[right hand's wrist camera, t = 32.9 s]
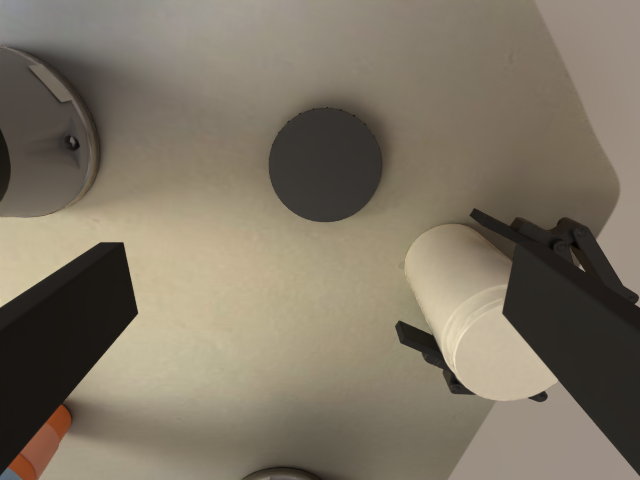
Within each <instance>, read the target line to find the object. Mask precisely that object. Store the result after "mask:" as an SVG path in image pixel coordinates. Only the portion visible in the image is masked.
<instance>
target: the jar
mask: <svg viewBox="0 0 640 480" xmlns="http://www.w3.org/2000/svg"><path fill="white" fill-rule="evenodd" d="M512 262H513V261H511V260H510V259H509V258H508V257H507V256H506V255H504V254H503V253H502V252H501V251H500V250H498V249H497V248H496V247H495V246H494V245H493V244H491V243H490V242H489V241H488V240H487V239H485V238H484V237H483V236H482V235H481V234H479V233H478V232H477V231H476V230H474V229H472V228H470V227H468V226H465V225H461V224H443V225H439V226H436V227H433V228H431V229H429V230H427V231H426V232H424V233H423V234H421V235H420V236H419V237H418V238H417V239H416V240H415V241H414V242H413V244H412V245H411V247H410V248H409V250H408V252H407V255H406V258H405V265H404V269H405V276H406V279H407V281H408V283H409V285H410V288H411V290H412V292H413V294H414V296H415V298H416V300H417V302H418V304H419V307H420V309H421V311H422V313H423V315H424V317H425V319H426V321H427V323H428V326H429V328H430V330H431V332H432V334H433V336H434V338H435V340H436V342H437V345H438V347H439V349H440V351H441V353H442V355H443V357H444V359H445V361H446V363H447V365H448V367H449V368H450V369H451V370H452V371H453V372H454V373H455V375H456V377H457V379H458V380H459V381H460V382H461V383H462V384H463V385H464V386H465V387H466V388H468V389H469V390H470V391H472V392H473V393H475V394H477V395H479V396H481V397H484V398H487V399H491V400H498V401H512V400H519V399H524V398H528V397H531V396H534V395H536V394H539V393H541V392H543V391H545V390H546V389H548V388H550V387H551V386H553V385H554V384H555V383H556V382H558V381H559V380H558V379H557V378H556V377H555V376H554V374H553V373H552V372H551V371H550V370H549V368H548V367H547V366H546V365H545V364H544V363H543V361H542V360H541V359H540V358H539V357H538V356H537V354H536V353H535V352H534V351H533V350H532V348H531V347H530V346H529V345H528V344H527V343H526V341H525V340H524V339H523V338H522V337H521V335H520V334H519V333H518V332H517V331H516V330H515V328H514V327H513V326H512V325H511V324H510V322H509V321H508V320H507V319H506V318H505V317H504V315H503V314H502V310H503V305H504V301H505V296H506V291H507V286H508V281H509V277H510V272H511V267H512Z"/></svg>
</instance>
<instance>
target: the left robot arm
mask: <svg viewBox="0 0 640 480" xmlns="http://www.w3.org/2000/svg"><path fill="white" fill-rule="evenodd" d="M469 216H471V217H472V218H473V219H475V220H476V221H477V222H478V223H480V224H481V225H482V226H484V227H486V228H488V229H490V230H492V231H494V232H496V233H498V234H500V235H502V236H504V237H506V238H508V239H510V240H512V241H514V242H516V243H517V242H540V243H541V244H543V245H544V246H546V247H547V248H549V249H551V250H552V251H554V252H555V253H557V254H558V255H560V256H561V257H563V258H564V259H566V260H567V261H569V262H570V263H572V264H573V260H572V256H571V252H570V249H569V247H570V248H571V250H572V251H573V253H574V254H575V256H576V258H577V259H578V261H579V262H580V264H581V265H582V267H583V269H584V270H585V272H586V273H587V274H589V275H590V276H592V277H593V278H595V279H596V280H598V281H600V282H601V283H603V284H604V285H606V286H607V287H609V288H610V289H612V290H613V291H615V292H616V293H618V294H619V295H621V296H623V297H624V298H626V299H627V300H629V301H630V302H632V303H633V304H635V303H636V302H637V301H638V299H639V296H638V295H637V294H636V293H634V292H632V291H631V290H629V289H628V288H626V287H624V286H623V285H622V283H621V281H620V279H619V278H618V276H617V275H616V273H615V271H614V270H613V268H612V266H611V265H610V263H609V261H608V260H607V258H606V256H605V255H604V253H603V251H602V250H601V248H600V246H599V245H598V243H597V241H596V240H595V238H594V236H593V235H592V233H591V232H590V230H589V228H588V227H586V226H584V225H582V224H580V223H578V222H576V221H574V220H571V219H569V218H567V217H565V218H561V219H560V220H559V221H558V223H557V226H556V227H555V228H553V229H551V230H545V229H542V228H540V227H538V226H537V225H535V224H533V223H531V222H529V221H527V220H525V219H523V218H515V220H514V221H513V223H512V224H511V225H510V226H508V225H506V224H504V223H502V222H500V221H498V220H496V219H494V218H492V217H490V216H489V215H487V214H485V213H483V212H481V211H479V210H477V209H475V208H474V209H473V211H472V212H471V214H470V215H469ZM395 327H396V330H397V333H398V337H399V340H400V343H402V344H404V345H406V346H409V347H411V348H413V349H416V350H418V351H420V352H422V355H423V357H424V359H425V360H426V362H428V363H430V364H433V365H435V366H437V367H439V368H442V369H444V370H443V375H444V378H445V380H446V382H447V385H448V387H449V389H450V391H451V393H453V394H469V395H477V394H475V393H473V392H472V391H470V390H469V389H468V388H466V387H465V386H464V385H463V384H462V383H461V382H460V381H459V380H458V379H457V377H456V375H455V373H454V372H453V371H452V370H451V369H450V368H449V367H448V365H447V363H446V361H445V359H444V357H443V355H442V353H441V351H440V349H439V347H438V345H437V342H436V340H435V338H434V336H433V335H431V334H428V333H426V332H424V331H422V330H419V329H417V328H415V327H413V326H410V325H408V324H406V323H404V322H401V321H398V323H397V324H396V326H395ZM547 397H548V396H547V394H546V393H545V391H543V392H541V393H539V394H536V395H534V396H531V397H528V398H529V399H532V400H535V401H537V402H543V401H545V400H546V399H547ZM243 480H320V479H319V478H317V477H316V476H314V475H312V474H309V473H307V472H304V471H301V470H296V469H290V468H272V469H266V470H262V471H258V472H256V473H253V474H251V475H249V476H248V477H246V478H245V479H243Z"/></svg>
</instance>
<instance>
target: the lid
mask: <svg viewBox="0 0 640 480" xmlns="http://www.w3.org/2000/svg"><path fill="white" fill-rule="evenodd" d="M381 170H382V159H381V153H380V148H379V146H378V143H377V141H376V139H375V136H374V135H373V134H372V132H371V131H370V130H369V129H368V127H367V126H366V124H364V123H363V122H361V121H360V120H359V119H357V118H356V117H355V115H351V114H349V113H346V112H344V111H342V110H341V109H340V110H338V109H332V108H328V107H327V108H319V109H314V108H313V110H310V111H307V112H304V113H302V114H301V113H300V114H299V115H298V116H297V117H295V118H293V119H292V120H291V121H288V122H287V124H286V125H285V126H284V127H283V128H282V130H281V131H280V132H278V135H277V137H276V139H275V141H274V143H273V144H272V148H271V152H270V157H269V174H270V179H271V183H272V186H273V188H274V190H275V192H276V194H277V196H278V197H279V199H280V200H281V201H282V203H283V204H284V205H285V206H286V207H287V208H288V209H290V210H291V211H292V212H294V213H295V214H297V215H299V216H301V217H303V218H305V219H308V220H312V221H317V222H333V221H338V220H342V219H345V218H348V217H349V216H351V215H353V214H355V213H356V212H358V211H359V210H361V209H362V208H363V207H364V206H365V205H366V204H367V203H368V202H369V201H370V199H371V198H372V196H373V195H374V193H375V191H376V189H377V187H378V184H379V181H380V177H381Z"/></svg>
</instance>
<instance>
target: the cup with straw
mask: <svg viewBox="0 0 640 480" xmlns="http://www.w3.org/2000/svg"><path fill="white" fill-rule="evenodd" d="M70 425H71V416H70V413H69V412H68V410H67V409H66V408H65V407H64V406H63V405H62V404H61V405H60V406H59V407H58V409H57V410H56V411H55V412H54V413H53V414H52V416H51V417H50V418H49V419H48V420H47V422H46V423H45V424H44V425H43V426H42V427H41V429H40V430H39V431H38V432H37V433H36V434H35V436H34V437H33V438H32V439H31V440H30V442H29V443H28V444H27V445H26V446H25V447H24V449H23V450H22V451H21V452H20V453H19V455H18V456H17V457H16V458H15V459H14V460H13V462H12V463H11V464H10V465H9V466H8V468H7V469H6V470H5V471H4V472H3V473H2V475H1V476H0V480H38V479H39V477H40V476H41V474H42V473H43V471H44V470H45V468H46V466H47V465H48V463H49V462H50V460H51V459H52V457H53V455H54V454H55V452H56V451H57V449H58V447H59V443H60V441H61V440H62V438H63V437H64V435H65V434H66V432H67V430H68V429H69V427H70Z"/></svg>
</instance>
